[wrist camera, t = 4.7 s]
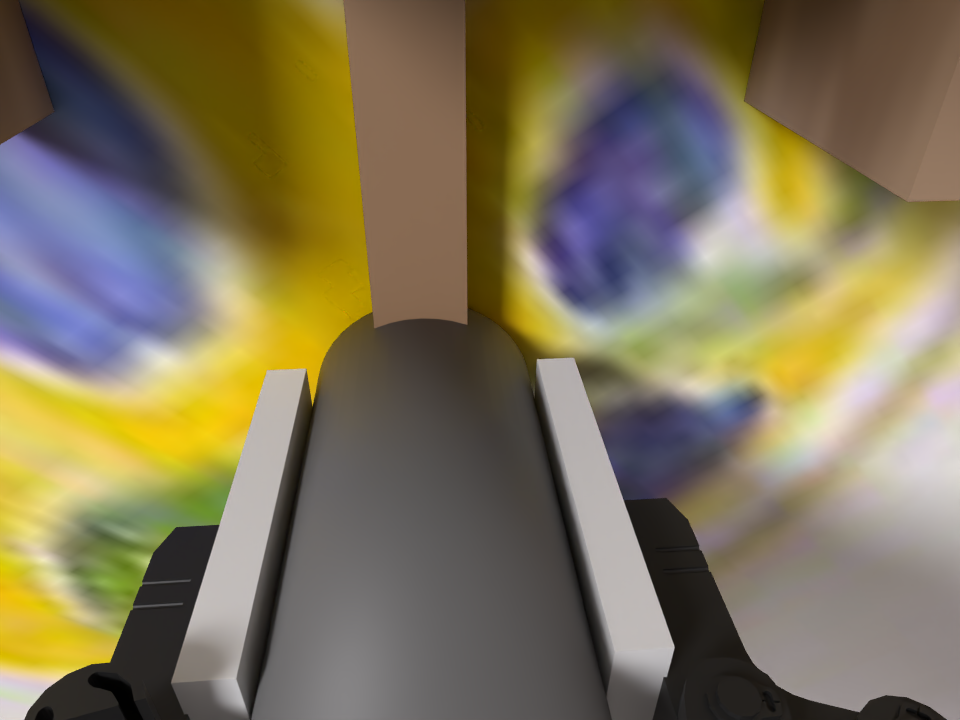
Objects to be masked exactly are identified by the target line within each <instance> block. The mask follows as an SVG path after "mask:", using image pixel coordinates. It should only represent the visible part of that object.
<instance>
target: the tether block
mask: <svg viewBox="0 0 960 720" xmlns="http://www.w3.org/2000/svg"><path fill="white" fill-rule="evenodd" d="M344 10H345V20H346V31H347V42H348V52H349V63H350V74H351V84H352V95H353V106H354V116H355V127H356V138H357V148H358V159H359V170H360V180H361V191H362V202H363V212H364V223H365V234H366V244H367V255H368V266H369V276H370V287H371V298H372V308H373V312H372V313H370V314H368V315H366V316H364V317H362V318H361V319H359V320H357V321H356V322H354V323H353V324H352V325H350V326H349V327H348V328H347V329H346V330H345V331H343V332H342V333H341V334H340V336H339V337H338V338H337V339H336V340H335V341H334V342H333V344H332V346H331V347H330V349H329V350H328V352H327V354H326V356H325V358H324V360H323V363H322V365H321V369H320V373H319V377H318V383H317V388H316V393H315V398H314V403H313V408H312V413H311V418H310V423H309V428H308V433H307V438H306V443H305V449H304V454H303V459H302V464H301V469H300V474H299V479H298V484H297V489H296V494H295V499H294V504H293V509H292V515H291V520H290V525H289V530H288V535H287V540H286V545H285V550H284V555H283V560H282V565H281V570H280V575H279V581H278V586H277V591H276V596H275V601H274V606H273V611H272V616H271V621H270V626H269V631H268V636H267V641H266V647H265V652H264V657H263V662H262V667H261V672H260V677H259V682H258V687H257V692H256V697H255V702H254V707H253V713H252V718H251V720H612V718H611V714H610V709H609V705H608V701H607V697H606V693H605V689H604V685H603V680H602V676H601V672H600V668H599V664H598V660H597V656H596V652H595V647H594V643H593V639H592V635H591V631H590V627H589V623H588V618H587V614H586V610H585V606H584V602H583V598H582V594H581V589H580V585H579V581H578V577H577V573H576V569H575V565H574V560H573V556H572V552H571V548H570V544H569V540H568V536H567V531H566V527H565V523H564V519H563V515H562V511H561V507H560V503H559V498H558V494H557V490H556V486H555V482H554V478H553V474H552V469H551V465H550V461H549V457H548V453H547V449H546V445H545V440H544V436H543V432H542V428H541V424H540V420H539V416H538V411H537V407H536V403H535V399H534V395H533V391H532V387H531V382H530V378H529V374H528V370H527V366H526V363H525V361H524V358H523V355H522V353H521V352H520V350H519V348H518V346H517V345H516V343H515V342H514V341H513V339H512V338H511V337H510V336H509V335H508V334H507V333H506V332H505V331H504V330H503V329H502V328H501V327H500V326H499V325H497V324H496V323H495V322H493V321H492V320H491V319H489V318H487V317H485V316H484V315H482V314H480V313H478V312H476V311H473V310H471V309H468V308H467V194H466V51H465V0H344Z"/></svg>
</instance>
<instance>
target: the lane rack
mask: <svg viewBox="0 0 960 720" xmlns="http://www.w3.org/2000/svg"><path fill="white" fill-rule="evenodd" d="M744 101H745V102H747V103H748V104H750V105H751V106H753V107H755V108H756V109H758V110H760V111H761V112H763V113H764V114H766V115H768V116H769V117H771V118H772V119H774V120H776V121H777V122H779V123H781V124H782V125H784V126H785V127H787V128H789V129H790V130H792V131H794V132H795V133H797V134H798V135H800V136H802V137H803V138H805V139H807V140H808V141H810V142H811V143H813V144H815V145H816V146H818V147H820V148H821V149H823V150H824V151H826V152H828V153H829V154H831V155H832V156H834V157H836V158H837V159H839V160H841V161H842V162H844V163H845V164H847V165H849V166H850V167H852V168H854V169H855V170H857V171H858V172H860V173H862V174H863V175H865V176H867V177H868V178H870V179H871V180H873V181H875V182H876V183H878V184H879V185H881V186H883V187H884V188H886V189H888V190H889V191H891V192H892V193H894V194H896V195H897V196H899V197H901V198H902V199H904V200H905V201H907V202H916V201H954V200H960V0H765V3H764V7H763V12H762V17H761V22H760V27H759V32H758V36H757V41H756V46H755V51H754V56H753V60H752V65H751V70H750V75H749V80H748V85H747V89H746V94H745V99H744ZM53 112H54V109H53V106H52V103H51V100H50V97H49V94H48V91H47V87H46V84H45V81H44V78H43V75H42V72H41V69H40V66H39V63H38V60H37V57H36V54H35V51H34V48H33V45H32V41H31V38H30V35H29V32H28V29H27V26H26V23H25V20H24V17H23V14H22V11H21V8H20V5H19V2H18V0H0V144H2V143H3V142H5V141H7V140H8V139H10V138H12V137H13V136H15V135H17V134H18V133H20V132H22V131H23V130H25V129H27V128H28V127H30V126H32V125H33V124H35V123H37V122H38V121H40V120H42V119H43V118H45V117H47V116H48V115H50V114H52V113H53Z"/></svg>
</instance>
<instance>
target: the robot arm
mask: <svg viewBox="0 0 960 720" xmlns="http://www.w3.org/2000/svg"><path fill="white" fill-rule="evenodd" d="M535 403H536V407H537V411H538V416H539V420H540V424H541V428H542V432H543V436H544V440H545V445H546V449H547V453H548V457H549V461H550V465H551V469H552V474H553V478H554V482H555V486H556V490H557V494H558V498H559V503H560V507H561V511H562V515H563V519H564V523H565V527H566V531H567V536H568V540H569V544H570V548H571V552H572V556H573V560H574V565H575V569H576V573H577V577H578V581H579V585H580V589H581V594H582V598H583V602H584V606H585V610H586V614H587V618H588V623H589V627H590V631H591V635H592V639H593V643H594V647H595V652H596V656H597V660H598V664H599V668H600V672H601V676H602V680H603V685H604V689H605V693H606V697H607V701H608V705H609V709H610V714H611V718H612V720H947V719H945V718H944V717H942V716H941V715H940V714H938V713H937V712H936V711H934V710H933V709H931V708H930V707H928V706H926V705H924V704H921V703H919V702H916V701H914V700H912V699H909V698H907V697H897V696H887V695H885V696H882V697H879V698H876V699H873V700H870V701H869V702H868V703H867V704H866V705H865V707H864V708H863V709H862V710H861V712H860V713H859V712H855V711H851V710H847V709H843V708H839V707H835V706H830V705H826V704H822V703H818V702H814V701H810V700H807V699H804V698H801V697H798V696H795V695H793V694H791V693H789V692H787V691H785V690H784V689H782V688H780V687H778V686H777V685H776V684H775V683H774V682H773V681H772V680H771V678H770V677H769V676H768V675H767V674H765V673H764V672H762V671H761V670H759V669H758V668H757V667H756V666H755V665H754V664H753V663H752V661H751V659H750V657H749V656H748V654H747V652H746V650H745V649H744V646H743V644H742V642H741V639H740V637H739V635H738V633H737V630H736V628H735V626H734V624H733V621H732V619H731V617H730V614H729V612H728V610H727V608H726V605H725V603H724V601H723V599H722V596H721V594H720V592H719V590H718V587H717V585H716V583H715V580H714V578H713V576H712V574H711V572H709V570H708V565H707V562H706V560H705V558H704V555H703V553H702V551H700V550H699V544H698V542H697V540H696V537H695V535H694V533H693V530H692V528H691V526H690V524H689V521H688V519H687V518H686V517H685V516H684V515H683V514H682V513H681V512H680V511H679V510H678V509H677V508H676V507H675V506H674V505H673V504H672V503H671V502H670V501H669V500H668V499H667V498H661V499H643V500H625V501H624V500H623V497H622V494H621V492H620V489H619V486H618V483H617V480H616V477H615V474H614V471H613V469H612V466H611V463H610V460H609V457H608V454H607V451H606V448H605V446H604V443H603V440H602V437H601V434H600V431H599V428H598V425H597V423H596V420H595V417H594V414H593V411H592V408H591V405H590V402H589V400H588V397H587V394H586V391H585V388H584V385H583V382H582V379H581V377H580V374H579V371H578V368H577V365H576V362H575V359H574V358H555V359H537V367H536V384H535ZM312 408H313V407H312V401H311V395H310V389H309V382H308V376H307V370H306V369H288V370H267V373H266V376H265V379H264V383H263V386H262V389H261V392H260V396H259V399H258V402H257V405H256V409H255V412H254V415H253V418H252V422H251V425H250V428H249V431H248V435H247V438H246V441H245V444H244V448H243V451H242V454H241V457H240V461H239V464H238V467H237V470H236V474H235V477H234V480H233V483H232V487H231V490H230V493H229V496H228V500H227V503H226V506H225V509H224V513H223V516H222V519H221V522H220V525H208V526H190V527H176V528H175V529H174V530H173V531H172V533H171V534H170V535H169V536H168V537H167V538H166V539H165V540H164V542H163V543H162V544H161V545H160V546H159V547H158V548H157V549H156V550H155V552H154V553H153V555H152V558H151V560H150V563H149V565H148V568H147V571H146V573H145V576H144V578H143V581H142V582H143V585H142V587H140V588H139V591H138V593H137V596H136V598H135V601H134V603H133V610H131V611H130V613H129V616H128V619H127V621H126V624H125V626H124V629H123V631H122V634H121V636H120V639H119V641H118V644H117V646H116V649H115V651H114V654H113V656H112V659H111V661H110V663H101V664H91V665H89V666H86V667H84V668H81V669H79V670H76V671H74V672H72V673H69V674H67V675H66V676H64V677H63V678H62V679H60V680H59V681H57V682H56V683H55V684H53V685H52V686H51V687H49V688H48V689H46V690H45V691H44V693H43V694H42V695H41V696H40V697H39V699H38V700H37V701H36V702H35V703H34V704H33V706H32V707H31V708H30V709H29V710H28V713H27V715H26V717H25V719H24V720H251V718H252V713H253V707H254V702H255V697H256V692H257V687H258V682H259V677H260V672H261V667H262V662H263V657H264V652H265V647H266V641H267V636H268V631H269V626H270V621H271V616H272V611H273V606H274V601H275V596H276V591H277V586H278V581H279V575H280V570H281V565H282V560H283V555H284V550H285V545H286V540H287V535H288V530H289V525H290V520H291V515H292V509H293V504H294V499H295V494H296V489H297V484H298V479H299V474H300V469H301V464H302V459H303V454H304V449H305V443H306V438H307V433H308V428H309V423H310V418H311V413H312Z"/></svg>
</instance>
